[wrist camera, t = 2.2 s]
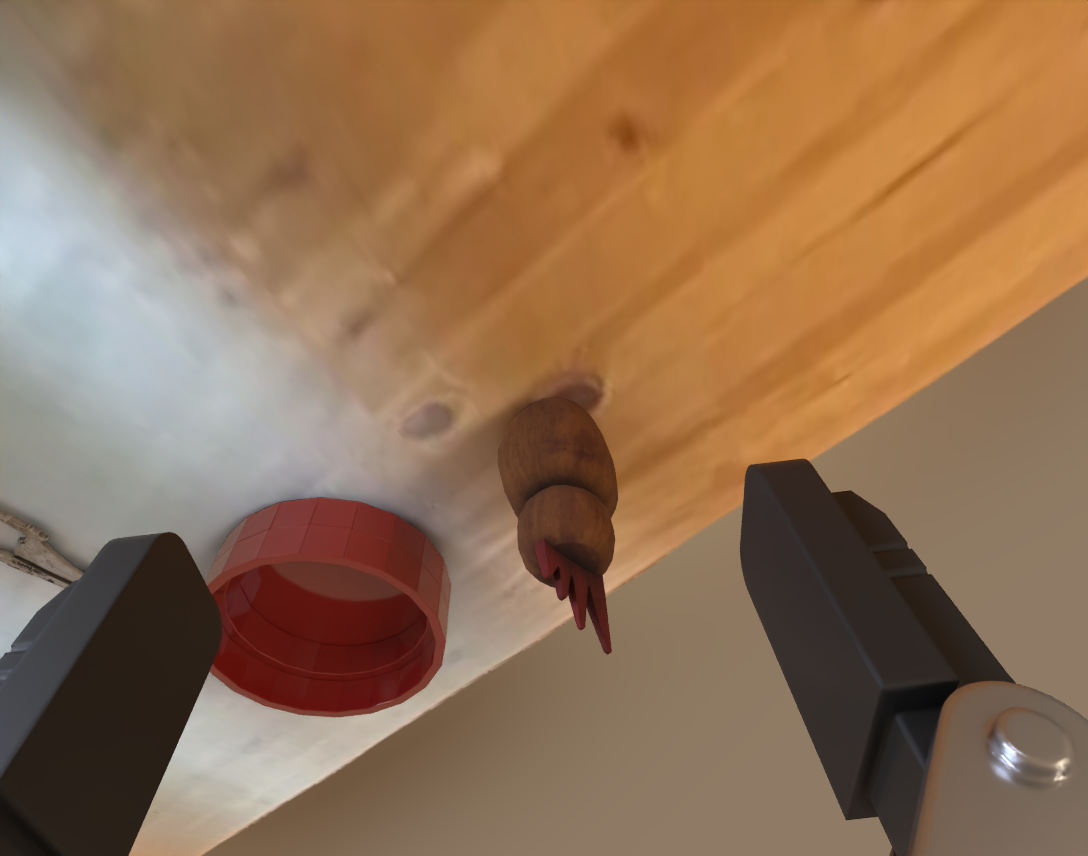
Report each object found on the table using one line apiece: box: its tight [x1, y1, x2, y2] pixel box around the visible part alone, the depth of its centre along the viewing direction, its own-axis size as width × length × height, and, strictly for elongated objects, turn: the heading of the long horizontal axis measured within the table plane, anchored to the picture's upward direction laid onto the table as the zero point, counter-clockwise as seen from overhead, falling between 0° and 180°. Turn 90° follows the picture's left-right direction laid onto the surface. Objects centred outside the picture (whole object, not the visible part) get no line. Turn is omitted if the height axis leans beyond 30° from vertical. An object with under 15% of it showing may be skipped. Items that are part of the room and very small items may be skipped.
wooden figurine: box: [498, 398, 618, 654], centre depth 33 cm, size 7×6×15 cm
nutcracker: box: [0, 509, 84, 588], centre depth 41 cm, size 16×1×5 cm
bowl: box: [205, 497, 451, 717], centre depth 43 cm, size 15×15×6 cm
